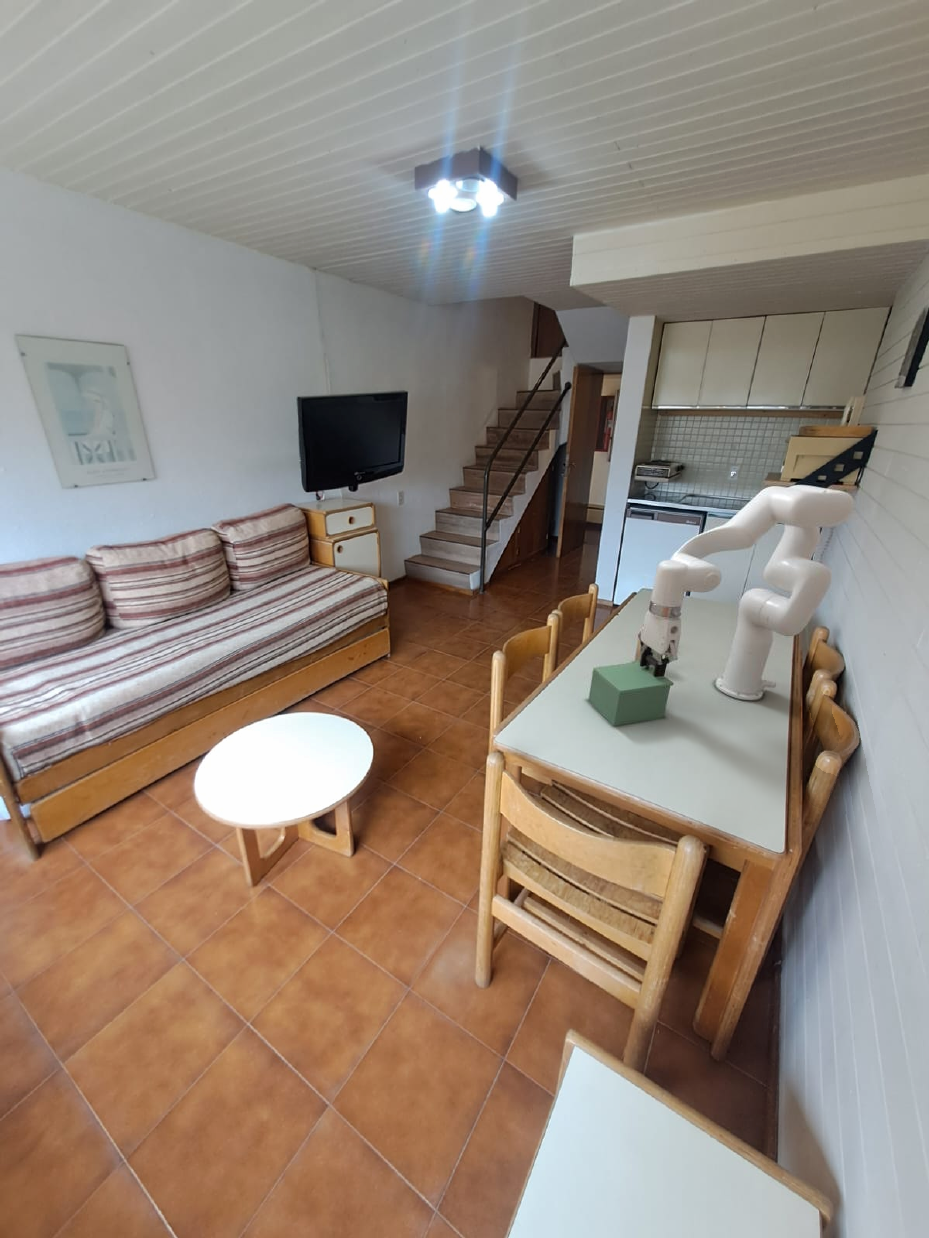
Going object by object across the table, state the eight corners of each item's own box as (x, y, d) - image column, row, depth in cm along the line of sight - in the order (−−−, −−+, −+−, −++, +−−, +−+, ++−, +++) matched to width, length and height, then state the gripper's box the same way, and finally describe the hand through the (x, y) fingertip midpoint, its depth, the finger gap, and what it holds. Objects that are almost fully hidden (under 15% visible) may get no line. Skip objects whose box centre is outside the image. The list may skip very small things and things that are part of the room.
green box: (635, 693, 144) (640, 663, 140) (663, 717, 133) (670, 686, 129) (588, 700, 139) (593, 670, 135) (613, 726, 128) (619, 693, 124)
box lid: (643, 663, 140) (646, 647, 138) (673, 685, 129) (677, 668, 127) (593, 670, 135) (595, 654, 133) (619, 693, 124) (622, 676, 122)
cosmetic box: (653, 663, 161) (660, 630, 157) (656, 670, 157) (663, 635, 153) (633, 662, 162) (639, 628, 157) (635, 668, 158) (642, 634, 153)
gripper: (700, 620, 120) (684, 684, 127) (655, 596, 135) (643, 655, 142) (675, 623, 118) (660, 688, 125) (632, 598, 133) (621, 658, 140)
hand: (651, 670), depth 133 cm, fingers closed on box lid, 5 cm apart
